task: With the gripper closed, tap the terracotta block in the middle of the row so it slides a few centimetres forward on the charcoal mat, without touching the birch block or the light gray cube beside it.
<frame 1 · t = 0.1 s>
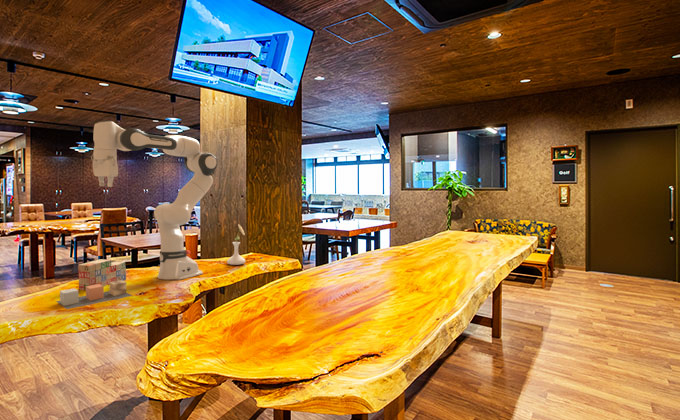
hand: (105, 186, 167), 48 cm above the table, tool pointing down, fingers open, 8 cm apart
flower in vase: (236, 264, 228), on the table
terracotta block: (94, 297, 155), resting on charcoal mat
light gray cube: (69, 302, 148), resting on charcoal mat
stack of blocks: (103, 285, 176), on the table
birch block: (118, 293, 162), resting on charcoal mat
charcoal mat: (95, 299, 155), on the table
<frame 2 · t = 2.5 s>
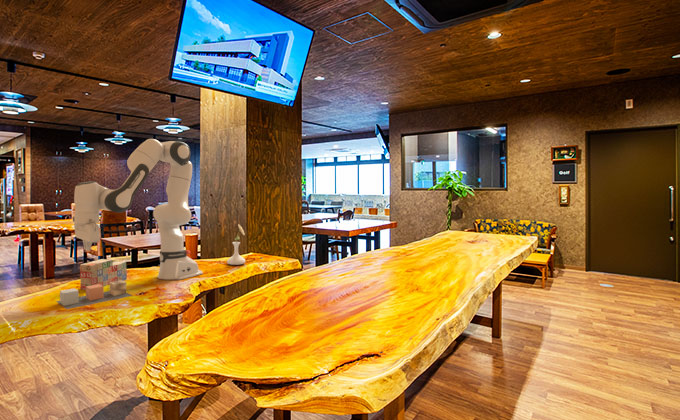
hand: (87, 250, 159), 20 cm above the table, tool pointing down, fingers closed
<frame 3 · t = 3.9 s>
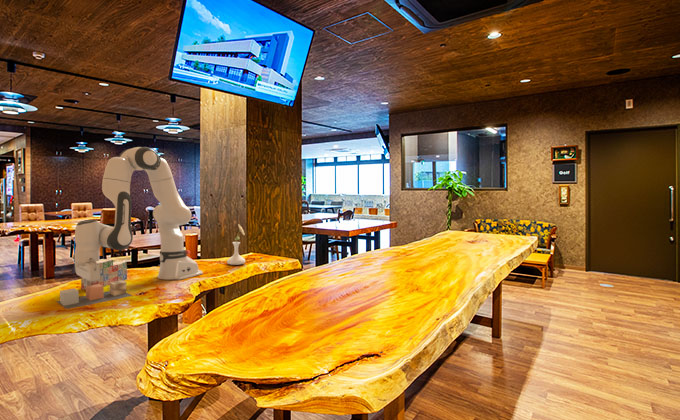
hand: (87, 288, 160), 3 cm above the table, tool pointing down, fingers closed
nothing on the table moved.
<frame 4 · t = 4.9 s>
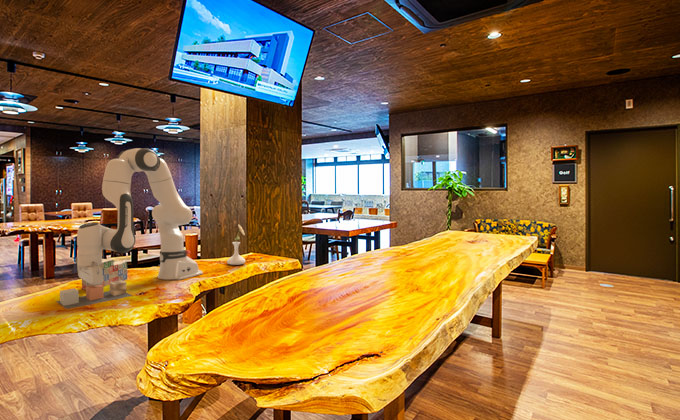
hand: (90, 291, 158), 2 cm above the table, tool pointing down, fingers closed
terracotta block: (94, 297, 155), resting on charcoal mat, touching gripper
everything else where it was.
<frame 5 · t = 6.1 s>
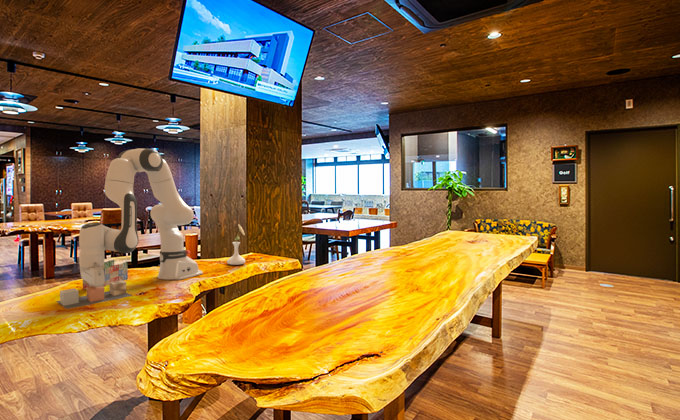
hand: (92, 292, 155), 3 cm above the table, tool pointing down, fingers closed, pressing on terracotta block
terracotta block: (95, 298, 153), point 1 cm above the table, tilted 6°, touching charcoal mat, gripper
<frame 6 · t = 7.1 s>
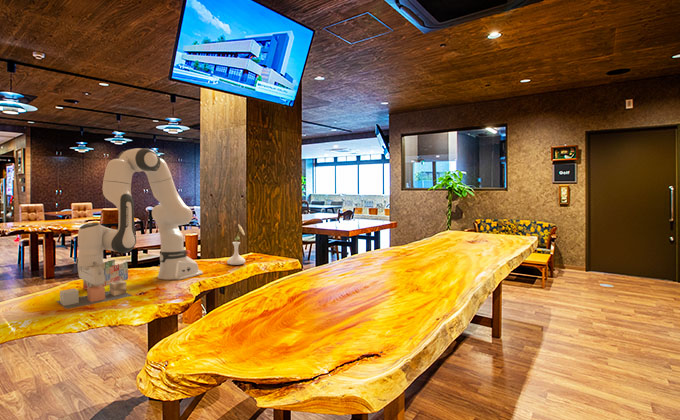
hand: (91, 291, 158), 2 cm above the table, tool pointing down, fingers closed
terracotta block: (96, 299, 153), resting on charcoal mat
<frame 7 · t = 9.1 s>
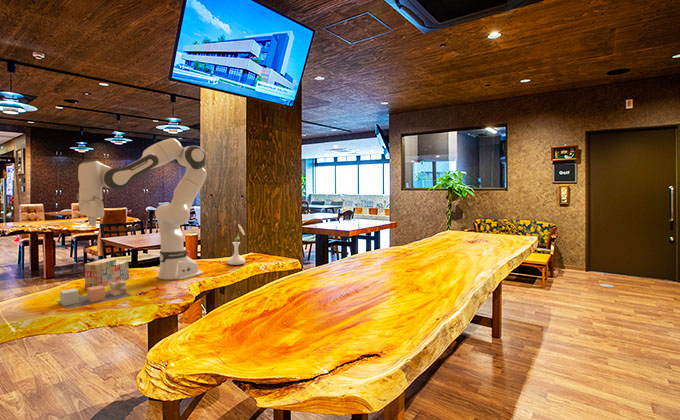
hand: (92, 225, 168), 30 cm above the table, tool pointing down, fingers closed
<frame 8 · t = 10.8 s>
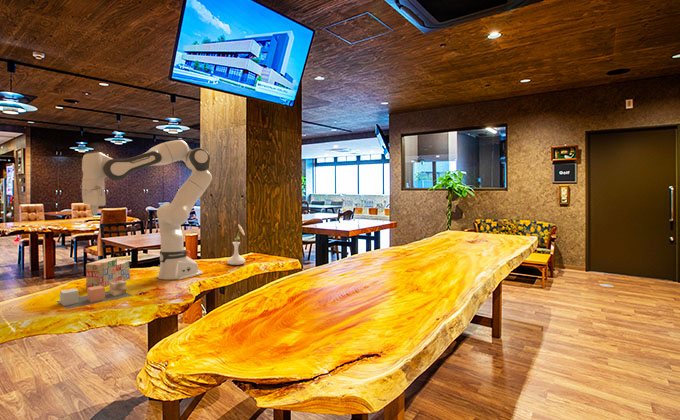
hand: (94, 214, 175), 34 cm above the table, tool pointing down, fingers closed
at the end: terracotta block moved 2.7 cm from its start; birch block moved 0.0 cm from its start; light gray cube moved 0.0 cm from its start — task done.
